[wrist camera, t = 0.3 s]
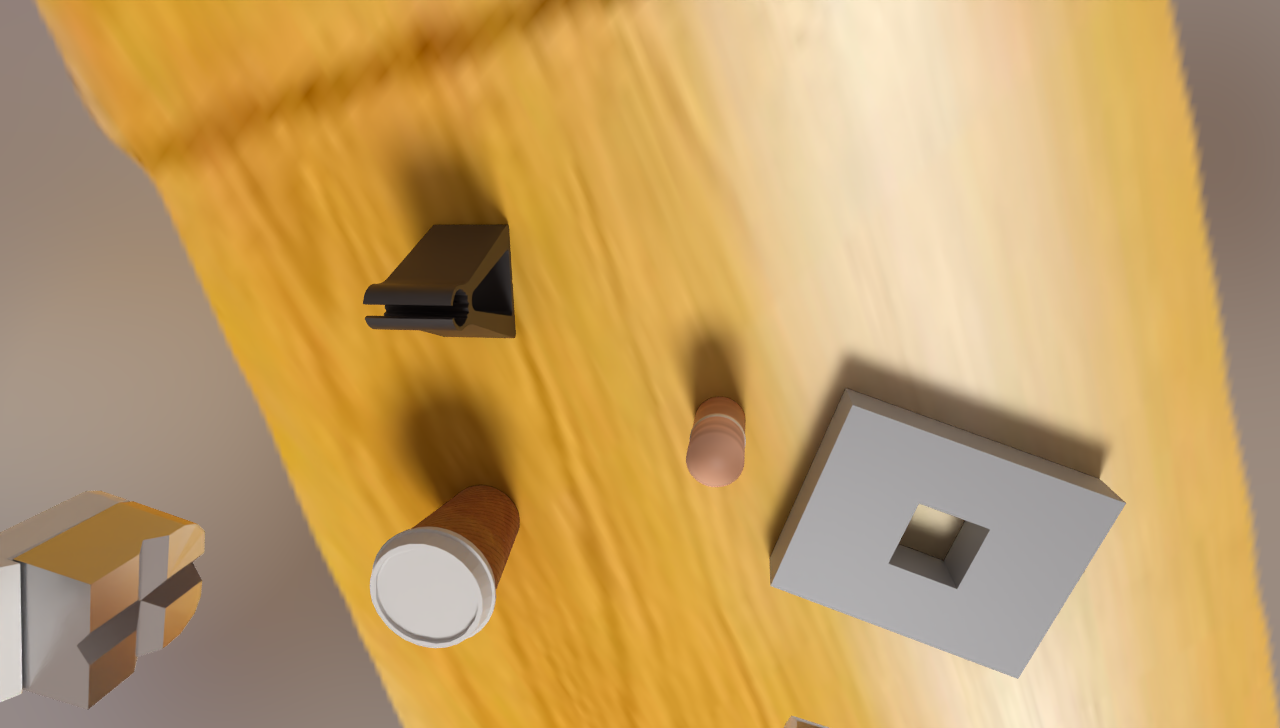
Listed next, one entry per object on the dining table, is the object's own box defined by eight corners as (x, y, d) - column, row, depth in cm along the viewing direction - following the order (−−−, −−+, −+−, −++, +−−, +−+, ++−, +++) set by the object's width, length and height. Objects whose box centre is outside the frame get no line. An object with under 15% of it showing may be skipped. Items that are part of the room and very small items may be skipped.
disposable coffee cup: (551, 556, 63) (506, 644, 51) (454, 573, 65) (390, 661, 53) (518, 457, 61) (463, 526, 49) (418, 478, 63) (344, 549, 51)
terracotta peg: (704, 388, 56) (696, 424, 49) (753, 406, 56) (753, 445, 49) (687, 434, 58) (677, 475, 50) (735, 451, 58) (732, 495, 50)
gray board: (845, 387, 55) (852, 404, 51) (1099, 479, 54) (1126, 503, 50) (769, 558, 60) (770, 585, 56) (1000, 645, 59) (1018, 678, 55)
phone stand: (515, 337, 58) (457, 380, 46) (445, 335, 59) (371, 377, 47) (509, 224, 55) (446, 240, 44) (436, 223, 56) (355, 240, 45)
